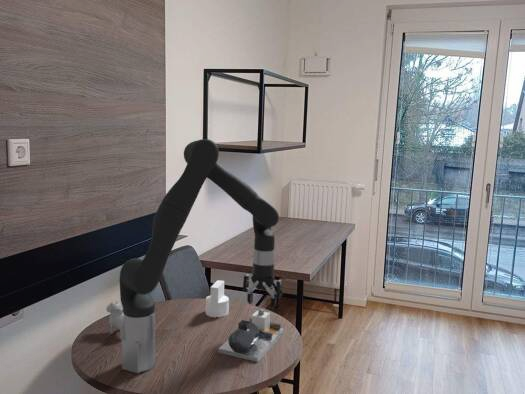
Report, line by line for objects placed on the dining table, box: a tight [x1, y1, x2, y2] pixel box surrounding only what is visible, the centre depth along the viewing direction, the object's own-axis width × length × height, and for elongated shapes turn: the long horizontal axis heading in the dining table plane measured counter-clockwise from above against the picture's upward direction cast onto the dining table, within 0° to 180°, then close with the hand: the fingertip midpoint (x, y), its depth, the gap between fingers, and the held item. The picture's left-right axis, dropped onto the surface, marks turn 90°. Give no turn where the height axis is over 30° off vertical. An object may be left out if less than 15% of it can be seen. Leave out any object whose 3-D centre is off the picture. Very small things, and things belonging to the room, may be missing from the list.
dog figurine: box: [106, 300, 124, 341], centre depth 168 cm, size 5×13×11 cm, turn 48°
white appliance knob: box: [205, 279, 230, 318], centre depth 188 cm, size 9×9×12 cm
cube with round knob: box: [251, 308, 271, 331], centre depth 171 cm, size 5×5×8 cm
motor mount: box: [218, 317, 285, 363], centre depth 164 cm, size 24×14×10 cm, turn 157°
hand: (261, 305), depth 170 cm, fingers open, 8 cm apart
